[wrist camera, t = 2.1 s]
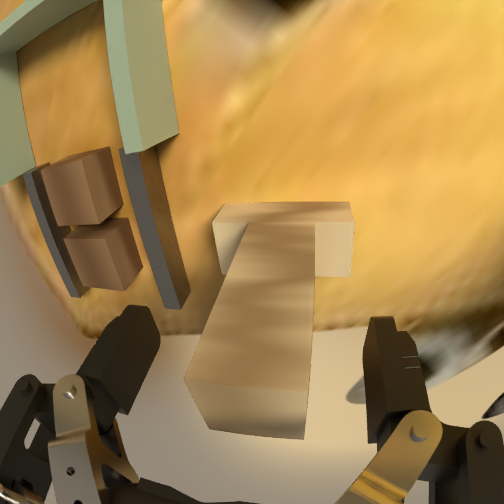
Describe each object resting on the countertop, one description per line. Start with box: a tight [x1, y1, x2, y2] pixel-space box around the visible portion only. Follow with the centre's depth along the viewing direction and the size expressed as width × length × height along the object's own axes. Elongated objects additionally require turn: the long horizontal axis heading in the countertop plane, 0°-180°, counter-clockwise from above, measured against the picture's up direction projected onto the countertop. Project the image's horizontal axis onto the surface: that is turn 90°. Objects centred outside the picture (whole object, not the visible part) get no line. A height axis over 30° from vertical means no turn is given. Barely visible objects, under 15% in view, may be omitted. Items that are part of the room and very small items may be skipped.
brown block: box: [41, 147, 123, 226], centre depth 17 cm, size 4×4×3 cm
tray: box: [0, 0, 179, 187], centre depth 12 cm, size 14×11×4 cm
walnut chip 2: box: [64, 218, 143, 291], centre depth 19 cm, size 4×4×3 cm
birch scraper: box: [184, 202, 355, 439], centre depth 13 cm, size 7×3×12 cm, turn 96°
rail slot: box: [23, 145, 191, 310], centre depth 19 cm, size 11×11×2 cm
